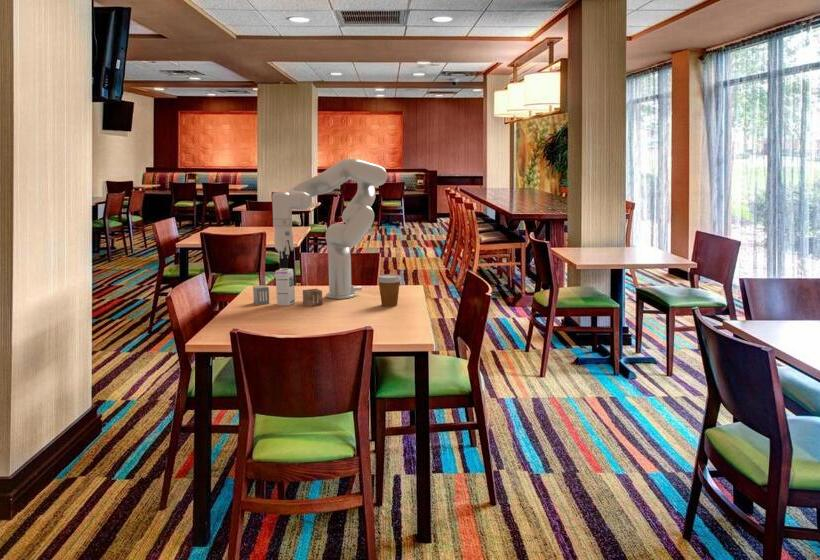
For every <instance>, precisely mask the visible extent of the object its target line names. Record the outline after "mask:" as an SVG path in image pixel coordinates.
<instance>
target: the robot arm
mask: <svg viewBox="0 0 820 560" xmlns="http://www.w3.org/2000/svg"><path fill="white" fill-rule="evenodd" d="M349 180H355V181H356V182H357V190H356V193H355V195H354V196H353V197H352V199H351V200H350V202H349V203H348V204H347V206H346V207H345V208H344V210H343V212H342V215H341V218H342V221H343V223H341V222H340V223H337V222H336V223H333V224H330V225H329V226H328V227H327V229H326V231H325V242H326V247H327V253H328V254H327V256H328V259H327V260H328V261H327V263H328V289H329V292H326V294H325V298H327V299H335V300H337V299H338V300H342V299H343V300H344V299H350V298H354V297H355V296H356V293H355V292H359V291H362V289H363V287H362V286H361V285H359V286H357V285H356V286H355V285H353V284H352V256H351V255H352V254H351V249H350V248H353V247H356V246H358V244H359V243H361V241H362V239H363V238H364V237H365V235H366V234H367V232H368V231H369V229H371V228H372V225H373V223H374V221H375V212H374V210H373V208H372V206H373V204H374V203H375V200H376V187H379V186H382V185H384V184H386V182H387V180H388V173H387V170H386V168H384V167H383V166H381V165H378V164H374V163H371V162H368V161H364V160H362V159H358V158H345V159H344V158H343V159H341V160H340V161H338V162H336V163H335V164H333V165H332V166H330V167H328V168H326V169H325V170H324V171H323V172H321V173H319V174H318V175H315V176H313V177H311V178H309V179H306V180H304V181H302V182H300V183H299V184H297V185H295V186H294V187H292V188H290V189H289V190H287V191H279V192H277V191H276V192H273V194H272V198H271V199H272V226H273V228H274V248H275V250H276V251H277V253H278V258H279V261H278V262H279V263H278V264H279V266H278V267H279V269H286V268H288V269H289V256H290V251H291V252H293V251H294V248H295V247H294V235H293V230H292V229H293V228H292V227H293V218H292V217H293V215H292V214H293V213H292V210H299V211H304V210H307V209H309V208H310V207H311V205H312V202H313V199H312V198H313V197H316V196H319V195H324V194H327V193H328V194H329V193H331V192H332V191H334V190H336V189H337V188H338V187H340V186H341V185H343V184H345V183H346V182H347V181H349Z"/></svg>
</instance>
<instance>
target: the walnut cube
mask: <svg viewBox="0 0 820 560" xmlns="http://www.w3.org/2000/svg"><path fill="white" fill-rule="evenodd" d="M302 305H304V306H306V307H308V308H309V307H310V308H311V307H319V306H323V290H320V289H319V288H312V289H311V288H310V289H302Z"/></svg>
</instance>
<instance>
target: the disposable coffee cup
mask: <svg viewBox="0 0 820 560" xmlns="http://www.w3.org/2000/svg"><path fill="white" fill-rule="evenodd" d="M376 280H377V282H378V287H379V293H380V294H379V295H380V300H381V306H382V307H385V306H393V307H396V305H397V306H398V301H399V293H400V282H401V280H402V279H401V277H400V275H399V274H391V273H389V274H388V273H387V274H380V275H378V277H377V279H376Z"/></svg>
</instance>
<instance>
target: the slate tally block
mask: <svg viewBox="0 0 820 560" xmlns="http://www.w3.org/2000/svg"><path fill="white" fill-rule="evenodd" d="M269 289H270V287H269V286H267V285H257V286H252V291H253V292H252V293H253V304H255V305H256V306H261V305H263V306H264V305H270V290H269Z"/></svg>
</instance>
